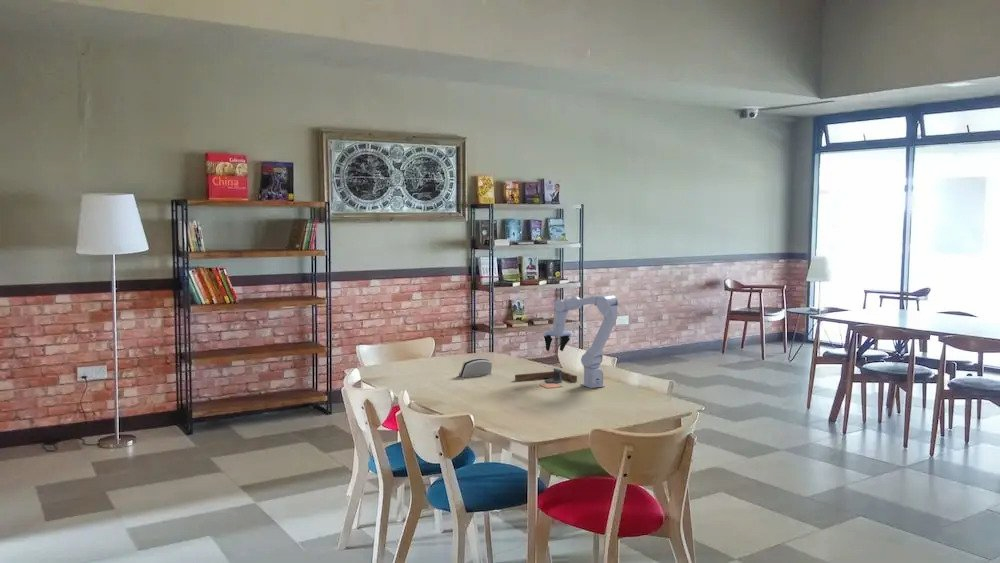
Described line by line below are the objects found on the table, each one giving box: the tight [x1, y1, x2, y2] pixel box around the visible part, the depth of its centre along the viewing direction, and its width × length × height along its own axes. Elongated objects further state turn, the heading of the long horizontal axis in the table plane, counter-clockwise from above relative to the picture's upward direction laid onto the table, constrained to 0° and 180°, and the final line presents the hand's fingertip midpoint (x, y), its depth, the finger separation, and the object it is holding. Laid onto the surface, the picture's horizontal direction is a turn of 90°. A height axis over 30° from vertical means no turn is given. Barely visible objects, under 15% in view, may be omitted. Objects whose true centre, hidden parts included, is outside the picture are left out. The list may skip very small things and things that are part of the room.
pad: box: [539, 383, 563, 389], centre depth 386 cm, size 8×8×1 cm
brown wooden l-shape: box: [514, 370, 578, 383], centre depth 396 cm, size 15×26×3 cm, turn 115°
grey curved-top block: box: [458, 357, 493, 378], centre depth 411 cm, size 17×5×10 cm, turn 123°
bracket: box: [544, 367, 563, 384], centre depth 395 cm, size 6×6×6 cm
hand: (554, 350), depth 400 cm, fingers open, 7 cm apart
